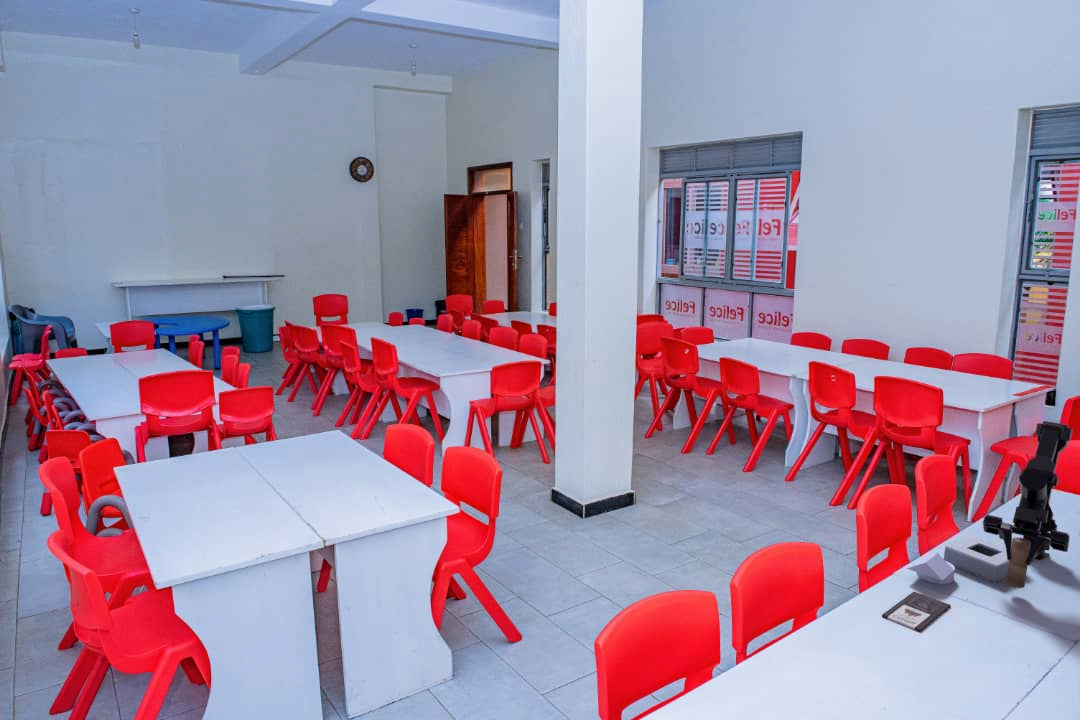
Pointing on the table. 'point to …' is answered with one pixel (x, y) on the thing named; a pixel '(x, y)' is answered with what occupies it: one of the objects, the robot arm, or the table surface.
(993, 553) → the box
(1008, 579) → the peg
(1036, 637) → the table surface
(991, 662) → the table surface
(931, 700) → the table surface
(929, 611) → the chocolate bar
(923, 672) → the table surface
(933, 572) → the wedge on round base
